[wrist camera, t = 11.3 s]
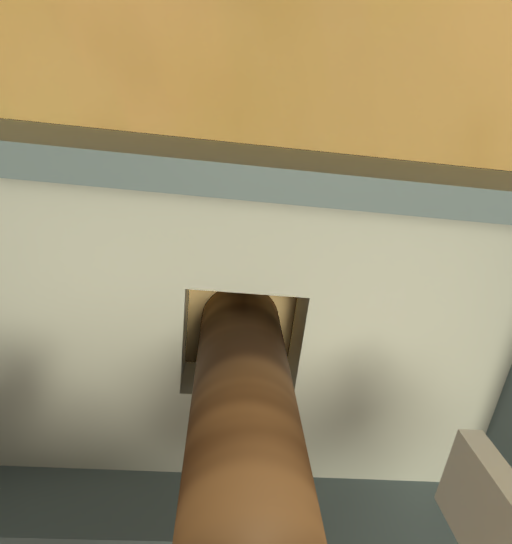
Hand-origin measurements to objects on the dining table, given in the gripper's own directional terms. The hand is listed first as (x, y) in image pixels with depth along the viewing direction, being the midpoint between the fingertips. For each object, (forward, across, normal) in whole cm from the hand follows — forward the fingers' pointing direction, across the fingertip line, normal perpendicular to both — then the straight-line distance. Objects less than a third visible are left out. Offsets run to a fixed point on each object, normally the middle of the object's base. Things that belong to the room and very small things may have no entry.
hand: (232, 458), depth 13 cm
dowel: (+9, +1, 0) cm, 9 cm away
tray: (+9, +1, 0) cm, 9 cm away
